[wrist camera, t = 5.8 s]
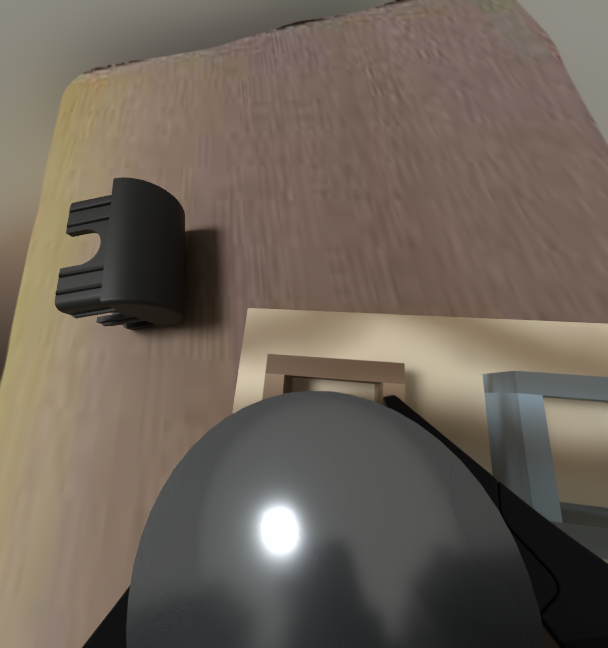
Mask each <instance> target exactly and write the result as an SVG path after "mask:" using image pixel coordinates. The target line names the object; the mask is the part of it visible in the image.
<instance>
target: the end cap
mask: <svg viewBox="0 0 608 648" xmlns="http://www.w3.org/2000/svg"><path fill="white" fill-rule="evenodd" d="M69 211H70V212H69V218H68V223H67V231H66V233H67V234H68V235H70V236H72V237H74V236H79V235H84V234H89V233H98V234H99V236H100V239H101V244H100V248H99V250H98V252H97V254H96V255H95V256H94V257H93V258H92V259H91V260H90V261H88V262H86V263H84V264H82V265H77V266H72V267H67V268H61V269H60V273H59V279H58V285H57V291H56V297H55V305H56V307H57V309H58V310H59V311H61V312H63V313H66V314H69V315H72V316H73V317H74V318H81V317H87V316H92V315H98V314H104V313H112V312H113V314H112V315H108V316H102V317H97V323H101V324H102V325H103V326H115V325H121V324H123V327H125V328H126V329H130V330H136V329H142V328H149V327H155V326H161V327H167V326H171V325H174V324H177V323H179V322H180V321H181V320H182V319H183V317H184V269H185V213H184V210H183V208H182V206H181V204H180V203H179V201H178V200H177V199H176V198H175V197H174V196H173V195H171V194H170V193H169V192H167V191H166V190H164V189H163V188H161V187H159V186H157V185H155V184H152V183H150V182H147V181H144V180H140V179H134V178H114V180H113V189H112V195H109V196H104V197H99V198H94V199H90V200H85V201H80V202H75V203H72V204H71V206H70V210H69Z"/></svg>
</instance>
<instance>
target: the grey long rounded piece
mask: <svg viewBox="0 0 608 648" xmlns="http://www.w3.org/2000/svg"><path fill="white" fill-rule="evenodd" d="M126 640H127V648H546V642H545V637H544V632H543V626H542V621H541V616H540V610H539V607H538V604H537V600H536V597H535V594H534V590H533V587H532V584H531V580H530V577H529V574H528V571H527V569H526V566H525V564H524V562H523V559H522V557H521V554H520V552H519V549H518V547H517V545H516V542H515V540H514V538H513V536H512V534H511V533H510V531H509V529H508V527H507V525H506V523H505V521H504V520H503V518H502V516H501V514H500V512H499V510H498V509H497V507H496V506H495V504H494V503H493V502H492V500H491V499H490V497H489V496H488V494H487V493H486V491H485V490H484V488H483V487H482V485H481V484H480V483H479V481H478V480H477V479H476V478H475V477H474V476H473V474H472V473H471V472H470V471H469V470H468V468H467V467H466V466H465V465H464V464H463V463H462V461H461V460H460V459H459V458H458V457H457V456H456V455H454V454H453V453H452V452H451V451H450V450H449V449H448V448H447V447H446V446H445V445H444V444H443V443H442V442H441V441H440V440H438V439H437V438H436V437H435V436H433V435H432V434H431V433H429V432H428V431H427V430H425V429H424V428H423V427H421V426H420V425H419V424H417V423H415V422H414V421H412V420H410V419H409V418H407V417H405V416H404V415H402V414H400V413H398V412H397V411H395V410H393V409H390V408H388V407H386V406H383V405H381V404H379V403H376V402H374V401H371V400H368V399H364V398H361V397H357V396H354V395H350V394H345V393H340V392H334V391H301V392H293V393H285V394H281V395H277V396H274V397H270V398H266V399H263V400H261V401H258V402H256V403H253V404H251V405H248V406H246V407H244V408H242V409H240V410H239V411H237V412H235V413H234V414H232V415H230V416H228V417H227V418H225V419H224V420H222V421H221V422H220V423H219V424H217V425H216V426H215V427H213V428H212V429H211V430H209V431H208V432H207V433H206V434H205V435H204V436H203V437H202V438H201V439H200V440H199V441H198V442H197V443H196V444H195V445H194V446H193V447H192V448H191V449H190V450H189V451H188V453H187V454H186V455H185V456H184V457H183V459H182V460H181V461H180V462H179V464H178V465H177V466H176V468H175V469H174V471H173V472H172V474H171V475H170V477H169V479H168V480H167V482H166V483H165V485H164V486H163V488H162V490H161V492H160V494H159V496H158V498H157V500H156V502H155V504H154V506H153V508H152V510H151V512H150V515H149V518H148V520H147V523H146V526H145V528H144V531H143V534H142V536H141V539H140V543H139V547H138V551H137V555H136V558H135V562H134V566H133V572H132V578H131V584H130V590H129V596H128V610H127V625H126Z"/></svg>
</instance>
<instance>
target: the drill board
mask: <svg viewBox="0 0 608 648" xmlns="http://www.w3.org/2000/svg"><path fill="white" fill-rule="evenodd" d="M301 391H334V392H340V393H345V394H350V395H354V396H357V397H361V398H364V399H368V400H371V401H374V402H376V403H379V404H381V405H383V401H382V399H383V397H384V396H388V395H396V396H397V397H398V398H400V399H401V400H402V401H403V402H404V403H406V404H407V405H408V406H409V407H410V408H412V409H413V410H414V411H415V412H417V413H418V414H419V415H420V416H421V417H423V418H424V419H425V420H426V421H427V422H429V423H430V424H431V425H432V426H433V427H435V428H436V429H437V430H438V431H440V432H441V433H442V434H443V435H444V436H446V437H447V438H448V439H449V440H450V441H452V442H453V443H454V444H455V445H456V446H458V447H459V448H460V449H461V450H463V451H464V452H465V453H466V454H467V455H469V456H470V457H471V458H472V459H473V460H475V461H476V462H477V463H478V464H479V465H481V466H482V467H483V468H484V469H486V470H487V471H488V472H489V473H490V474H492V475H493V476H494V477H495V478H496V479H497V482H498V481H500V482H501V483H503V484H504V485H505V486H506V487H507V488H509V489H510V490H511V491H512V492H513V493H515V494H516V495H517V496H518V497H520V498H521V499H522V500H523V501H525V502H526V503H527V504H528V505H530V506H531V507H532V508H534V509H535V510H536V511H537V512H539V513H540V514H541V515H542V516H544V517H545V518H546V519H548V520H549V521H550V522H552V523H553V524H555V525H556V526H557V527H559V528H560V529H561V530H563V531H564V532H565V533H567V534H568V535H569V536H571V537H572V538H574V539H575V540H576V541H578V542H579V543H580V544H582V545H583V546H585V547H586V548H587V549H589V550H590V551H592V552H593V553H594V554H596V555H597V556H599V557H600V558H601V559H603V560H604V561H606V562H607V563H608V324H600V323H578V322H555V321H532V320H509V319H486V318H463V317H440V316H417V315H394V314H371V313H348V312H325V311H302V310H279V309H256V308H248V311H247V318H246V324H245V331H244V338H243V345H242V351H241V358H240V365H239V372H238V379H237V385H236V392H235V399H234V406H233V412H232V414H234V413H235V412H237V411H239V410H240V409H242V408H244V407H246V406H248V405H251V404H253V403H256V402H258V401H261V400H263V399H266V398H270V397H274V396H277V395H281V394H285V393H293V392H301Z"/></svg>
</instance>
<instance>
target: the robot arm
mask: <svg viewBox="0 0 608 648" xmlns="http://www.w3.org/2000/svg"><path fill="white" fill-rule="evenodd" d="M382 401H383V406H386V407H388V408H390V409H393V410H395V411H397V412H398V413H400V414H402V415H404V416H405V417H407V418H409V419H410V420H412V421H414V422H415V423H417V424H419V425H420V426H421V427H423V428H424V429H425V430H427V431H428V432H429V433H431V434H432V435H433V436H435V437H436V438H437V439H438V440H440V441H441V442H442V443H443V444H444V445H445V446H446V447H447V448H448V449H449V450H450V451H451V452H452V453H453V454H454V455H456V456H457V457H458V458H459V459H460V460H461V461H462V463H463V464H464V465H465V466H466V467H467V468H468V470H469V471H470V472H471V473H472V474H473V476H474V477H475V478H476V479H477V480H478V481H479V483H480V484H481V485H482V487H483V488H484V490H485V491H486V493H487V494H488V496H489V497H490V499H491V500H492V502H493V503H494V504H495V506H496V507H497V509H498V510H499V512H500V514H501V516H502V518H503V520H504V521H505V523H506V525H507V527H508V529H509V531H510V533H511V534H512V536H513V538H514V540H515V542H516V545H517V547H518V549H519V552H520V554H521V557H522V559H523V562H524V564H525V566H526V569H527V571H528V574H529V577H530V580H531V584H532V587H533V590H534V594H535V597H536V600H537V604H538V607H539V610H540V616H541V621H542V626H543V632H544V637H545V642H546V648H608V563H607V562H606V561H604V560H603V559H601V558H600V557H599V556H597V555H596V554H594V553H593V552H592V551H590V550H589V549H587V548H586V547H585V546H583V545H582V544H580V543H579V542H578V541H576V540H575V539H574V538H572V537H571V536H569V535H568V534H567V533H565V532H564V531H563V530H561V529H560V528H559V527H557V526H556V525H555V524H553V523H552V522H550V521H549V520H548V519H546V518H545V517H544V516H542V515H541V514H540V513H539V512H537V511H536V510H535V509H534V508H532V507H531V506H530V505H528V504H527V503H526V502H525V501H523V500H522V499H521V498H520V497H518V496H517V495H516V494H515V493H513V492H512V491H511V490H510V489H509V488H507V487H506V486H505V485H504V484H503V483H501V482H500V481H498V482H497V479H496V478H495V477H494V476H493V475H492V474H490V473H489V472H488V471H487V470H486V469H484V468H483V467H482V466H481V465H479V464H478V463H477V462H476V461H475V460H473V459H472V458H471V457H470V456H469V455H467V454H466V453H465V452H464V451H463V450H461V449H460V448H459V447H458V446H456V445H455V444H454V443H453V442H452V441H450V440H449V439H448V438H447V437H446V436H444V435H443V434H442V433H441V432H440V431H438V430H437V429H436V428H435V427H433V426H432V425H431V424H430V423H429V422H427V421H426V420H425V419H424V418H423V417H421V416H420V415H419V414H418V413H417V412H415V411H414V410H413V409H412V408H410V407H409V406H408V405H407V404H406V403H404V402H403V401H402V400H401V399H400V398H398V397H397V396H396V395H388V396H384V397H383V399H382ZM129 590H130V586H129V587H128V589H127V590H126V591H125V593H124V594H123V595H122V597H121V598H120V599H119V601H118V602H117V603H116V605H115V606H114V607H113V608H112V610H111V611H110V612H109V614H108V615H107V616H106V617H105V619H104V620H103V621H102V623H101V624H100V625H99V626H98V628H97V629H96V630H95V632H94V633H93V634H92V635H91V637H90V638H89V639H88V641H87V642H86V643H85V644H84V646H83V647H82V648H127V640H126V625H127V610H128V596H129Z"/></svg>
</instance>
